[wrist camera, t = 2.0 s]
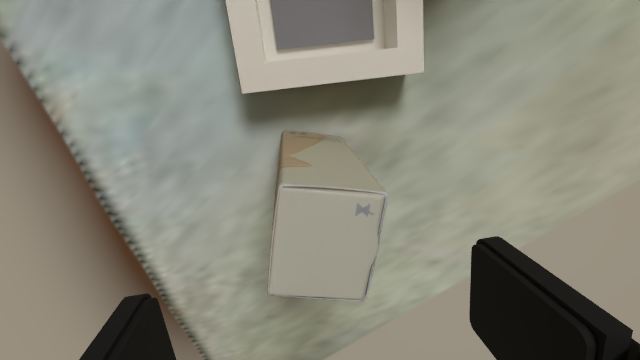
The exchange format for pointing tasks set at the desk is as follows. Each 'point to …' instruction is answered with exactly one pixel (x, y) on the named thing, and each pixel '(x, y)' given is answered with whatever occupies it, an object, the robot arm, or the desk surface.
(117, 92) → the desk surface
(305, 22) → the shallow square tray
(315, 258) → the box
